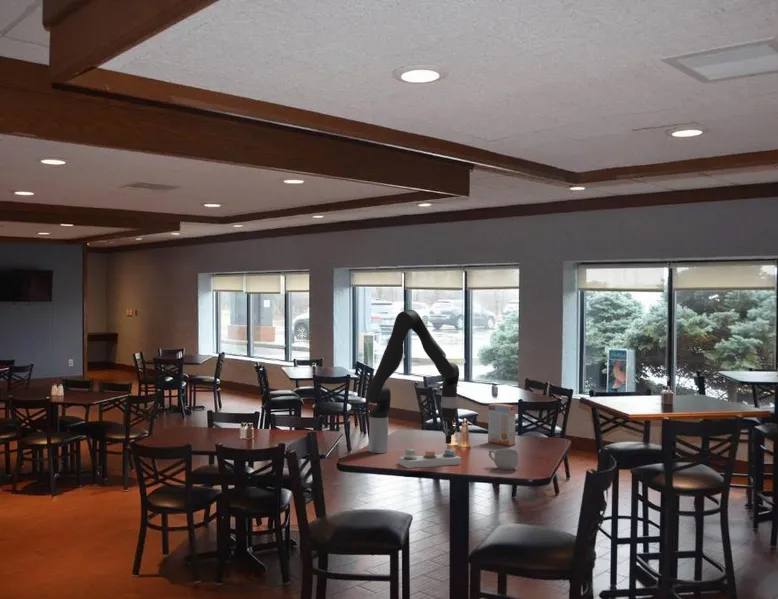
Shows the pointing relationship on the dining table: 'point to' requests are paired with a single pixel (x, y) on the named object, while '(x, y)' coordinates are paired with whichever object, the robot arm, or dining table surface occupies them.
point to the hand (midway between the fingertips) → (448, 443)
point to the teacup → (505, 458)
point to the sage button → (410, 452)
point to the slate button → (449, 452)
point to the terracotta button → (430, 453)
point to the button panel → (429, 461)
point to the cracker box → (501, 424)
